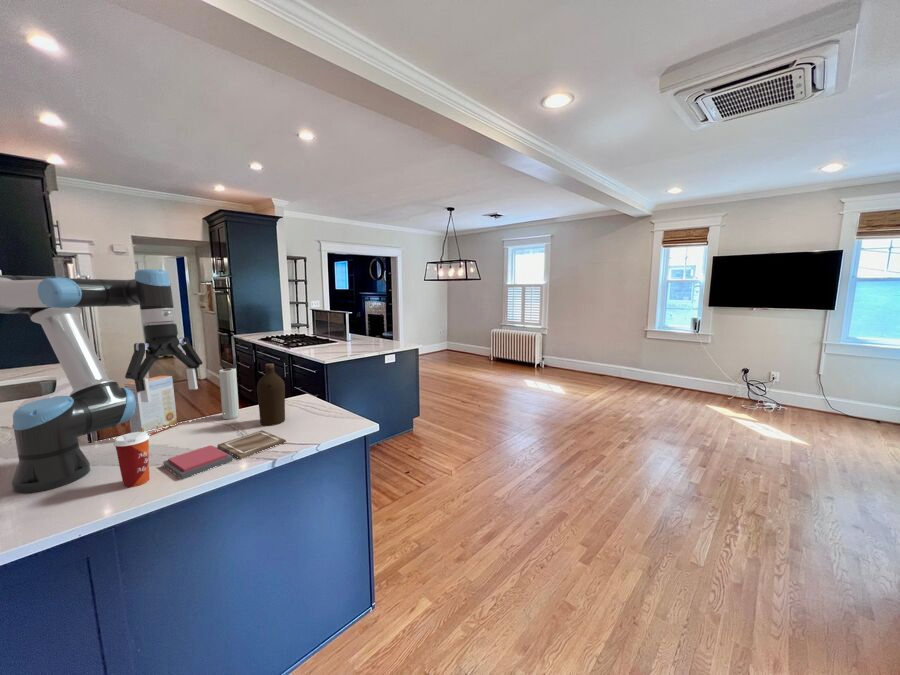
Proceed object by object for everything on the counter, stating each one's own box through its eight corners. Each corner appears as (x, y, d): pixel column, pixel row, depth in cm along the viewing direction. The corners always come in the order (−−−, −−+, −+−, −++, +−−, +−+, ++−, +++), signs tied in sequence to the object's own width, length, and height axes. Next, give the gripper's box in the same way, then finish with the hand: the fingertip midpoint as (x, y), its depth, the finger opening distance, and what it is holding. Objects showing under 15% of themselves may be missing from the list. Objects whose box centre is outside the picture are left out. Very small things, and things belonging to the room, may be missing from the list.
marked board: (217, 447, 126) (217, 444, 126) (262, 432, 139) (262, 429, 139) (240, 459, 117) (240, 455, 117) (285, 442, 130) (285, 439, 130)
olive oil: (291, 421, 152) (288, 363, 149) (265, 428, 144) (262, 367, 140) (279, 415, 158) (276, 360, 155) (254, 422, 150) (250, 364, 147)
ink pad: (163, 466, 112) (163, 459, 112) (212, 450, 124) (212, 443, 123) (182, 479, 105) (181, 471, 104) (232, 460, 116) (232, 453, 116)
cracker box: (166, 424, 147) (161, 374, 145) (178, 425, 146) (173, 375, 143) (129, 437, 134) (123, 383, 131) (142, 438, 133) (136, 384, 130)
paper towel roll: (225, 420, 152) (221, 371, 149) (220, 417, 156) (217, 369, 153) (243, 416, 157) (240, 369, 154) (239, 413, 161) (235, 367, 158)
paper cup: (152, 484, 102) (147, 437, 100) (116, 492, 98) (110, 444, 96) (155, 472, 108) (150, 428, 106) (121, 480, 104) (116, 434, 102)
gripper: (119, 327, 90) (133, 408, 92) (209, 319, 114) (218, 384, 116) (98, 328, 92) (113, 407, 94) (191, 321, 116) (201, 384, 118)
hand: (171, 395), depth 105 cm, fingers open, 13 cm apart
